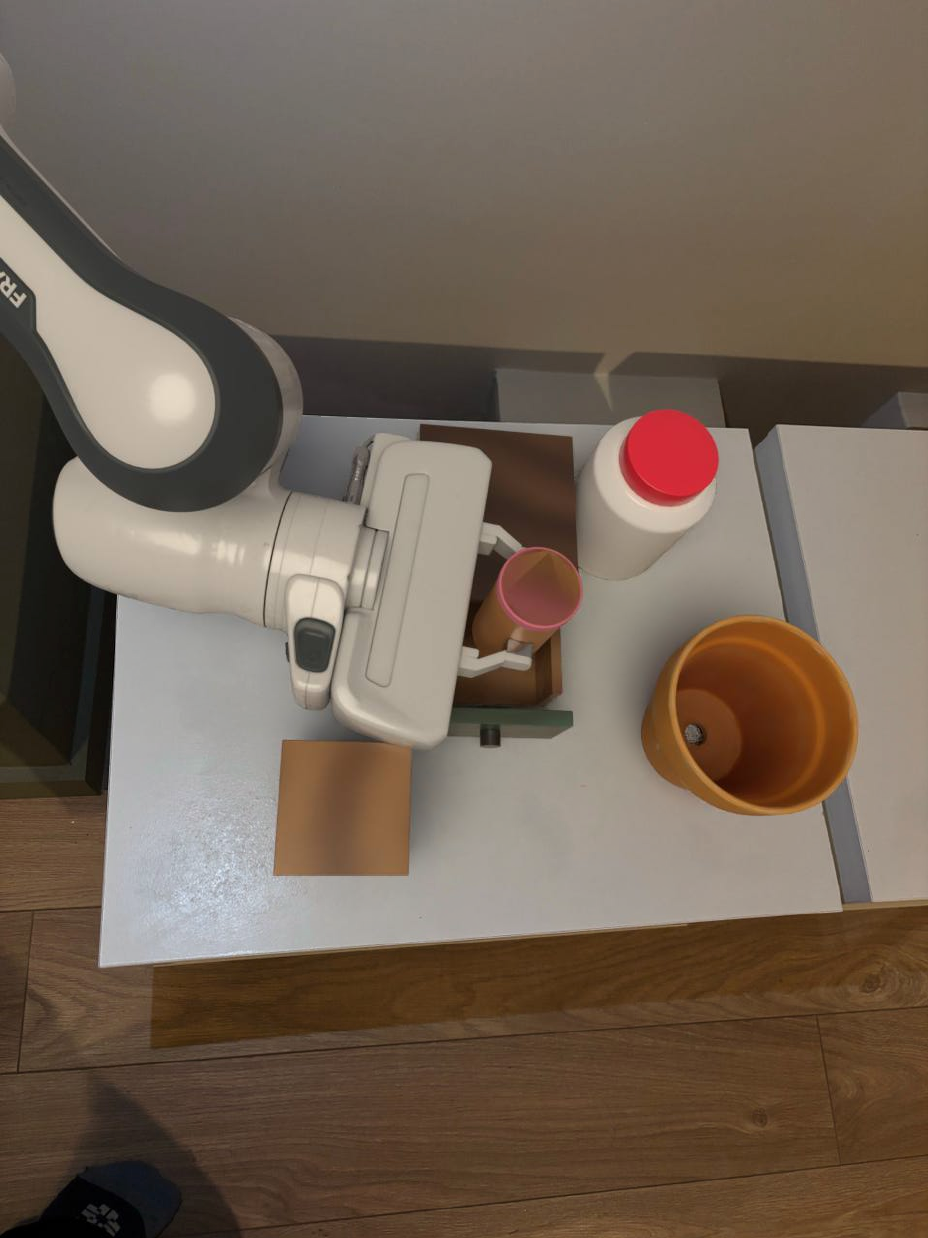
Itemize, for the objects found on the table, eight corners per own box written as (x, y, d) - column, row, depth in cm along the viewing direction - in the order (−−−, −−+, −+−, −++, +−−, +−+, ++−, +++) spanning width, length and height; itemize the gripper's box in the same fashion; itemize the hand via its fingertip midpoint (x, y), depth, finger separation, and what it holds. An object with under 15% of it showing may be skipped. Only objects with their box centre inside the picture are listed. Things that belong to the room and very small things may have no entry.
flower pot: (628, 836, 65) (697, 829, 53) (593, 667, 69) (651, 624, 57) (784, 810, 68) (884, 798, 56) (743, 649, 72) (828, 604, 60)
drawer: (551, 753, 66) (574, 742, 60) (412, 750, 64) (420, 738, 58) (546, 583, 70) (567, 557, 64) (415, 575, 68) (424, 548, 62)
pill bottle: (541, 488, 73) (590, 403, 60) (641, 468, 76) (710, 382, 62) (575, 591, 71) (634, 526, 57) (677, 567, 73) (757, 500, 60)
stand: (285, 873, 61) (272, 875, 47) (291, 766, 63) (282, 739, 50) (391, 873, 62) (409, 875, 49) (394, 768, 64) (411, 742, 51)
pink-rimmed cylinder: (470, 665, 57) (499, 626, 47) (470, 595, 58) (498, 543, 49) (542, 668, 58) (584, 630, 48) (540, 599, 59) (581, 549, 50)
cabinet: (552, 634, 70) (580, 605, 62) (406, 627, 68) (416, 596, 60) (547, 480, 74) (572, 436, 66) (410, 470, 72) (419, 423, 64)
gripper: (357, 450, 57) (544, 491, 59) (293, 731, 51) (505, 770, 53) (361, 402, 52) (569, 450, 53) (289, 714, 45) (528, 758, 47)
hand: (537, 612), depth 53 cm, fingers closed on pink-rimmed cylinder, 5 cm apart
